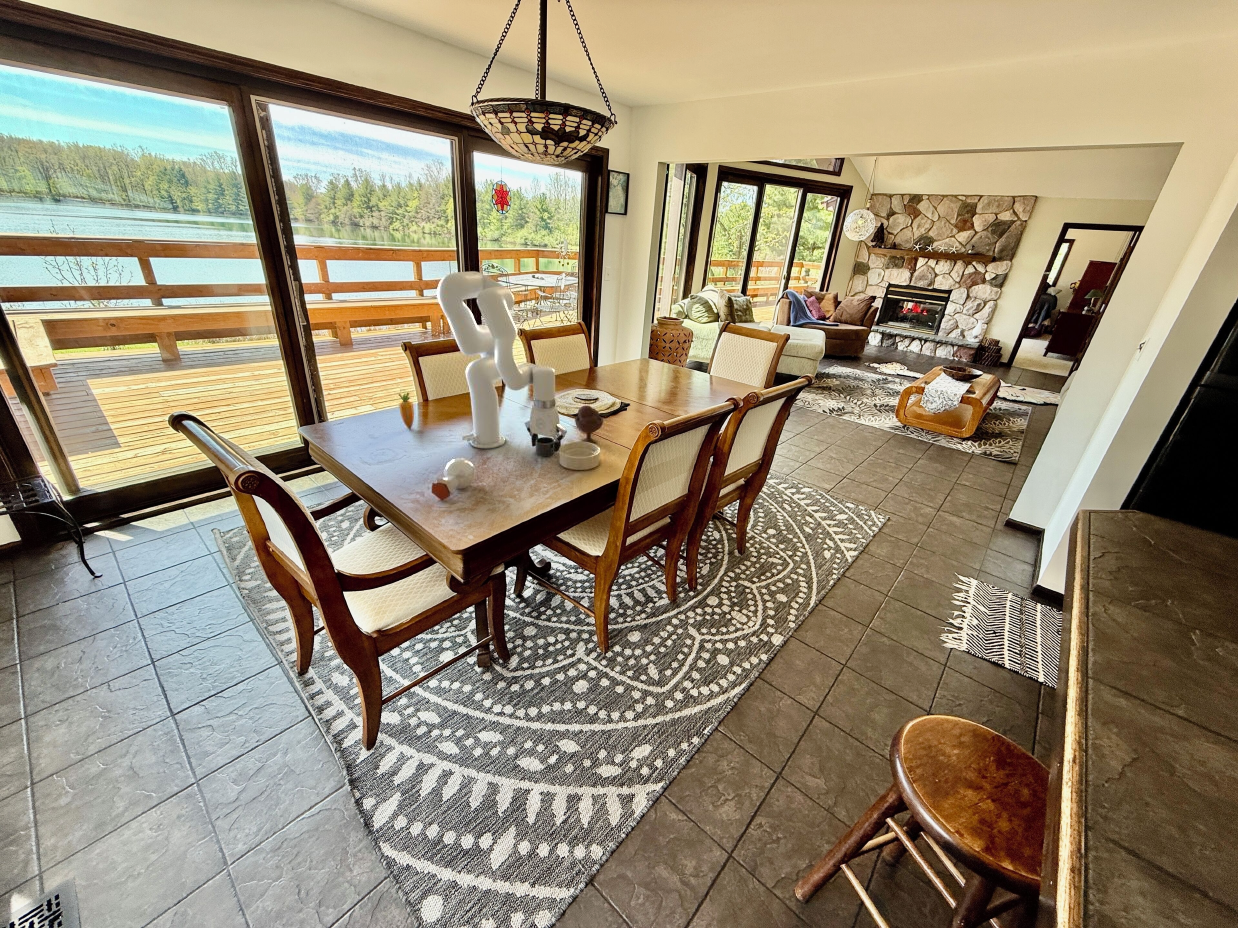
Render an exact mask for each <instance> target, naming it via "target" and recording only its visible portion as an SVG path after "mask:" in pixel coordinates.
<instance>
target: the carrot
mask: <svg viewBox="0 0 1238 928" xmlns="http://www.w3.org/2000/svg"><path fill="white" fill-rule="evenodd" d="M397 395H398V396H399V398H400V399H401V400H402V401H400V402H399V403H398V407H399V408H398V409H399V412H400V417H401V419H402V421H403V423H404V425H405V426H406V428H407V429H409V430H411V429H412V428H413V425H414V421H415V420H414V419H415V411H414V409H415V408H414V403H413V402H412V401H411V400H410V399H411V397H410V392H408V391H407V392H404V393H403V395H402V393H398V394H397Z"/></svg>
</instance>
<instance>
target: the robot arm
mask: <svg viewBox="0 0 1238 928" xmlns="http://www.w3.org/2000/svg"><path fill="white" fill-rule="evenodd" d="M436 295H437V296H436V297H437V300H438V304H439V306H440V308H441V309H442V311H443V314H444V315H445V317H446V319H447V322H448V324H449V327H450V329H451V332H452V334H453V337H454V339H455V341H456V344H457V346H458V349H459V350H460V352H461V353H462V354H463V355H464V356H466V357H475V356H478V355H480V357H479V358H476V359H474V360H472V361H471V362H469V364H468V365H467V367H466V369H465V378H466V382H467V385H468V390H469V395H470V404H471V415H472V429H473V430H472V429H471V432H469V433H468V434H460V439H461V441H466V442H469V443H470V445H471V446H473V447H474V448H478V449H494V448H498V447H500V446H502V445H504V444H505V442H506V439H505V436H503V435H502V434H501V424H500V423H501V422H500V412H499V411H500V409H499V396H498V392H497V389H496V387H495V385H494V384H495V383H496V382H498V381H501V380H502V381H503V383H504V385H505V386H506V387H507V388H508V389H510V390H511V391H515V392H516V391H520V390H523V389H524V388H527V387H528V386H529V387H530V386H532V394H533V396H532V397H531V401H532V402H533V404H532V405H531V409H530V415H529V420H527V421H525V422H524V425H525V426H524V427H526V431H527V432H528V433H529V437H530V439H531V447H532V448H535V447H536V439H538V438H539V435H540V436H543V437H550V438H553V439H554V440H555V442H554V452H555V453H558V452H559V448H560V446H562V440H563V439H565V437H566V435H567V433H568V430H567V429H565V427H563V426H562V425H561V424H560V414H559V409H558V406H556V403H557V402H556V371H555V369H554V368H553V367H551V366H547V365H542V366H541V365H538V364H534V363H531V362H523V363H521V364H518V365H517V362H516V360H515V357H514V351H513V350H514V343H515V341H516V338H517V337H518V329H517V326H516V324H515V322H514V320H513V317H512V315H511V313H510V311H512V310H513V308H514V306H515V297H514V295H513V293H512V291H511V290H510V289H509V288H508V287H506V286H505V285H503V284H502V283H500V282H498V281H497V280H494V279H492V278H491V277H489V276H488V275H485V274H484V273H481V272H479V271H474V270H472V271H458V272H452V273H449V274H446V275H445V276H443V277H442V279H440V281H439V283H438V286H437V290H436ZM469 299H476V304H477V307H478V309H479V311H480V313H481V315H482V317H483V320H484V322H485V324H486V325H485V324H477V322H476V320H475V316H474V314H473V313H472V310H471V309H470V308H469V307H468V306H467V304H466V303H465V301H464V300H469Z"/></svg>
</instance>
